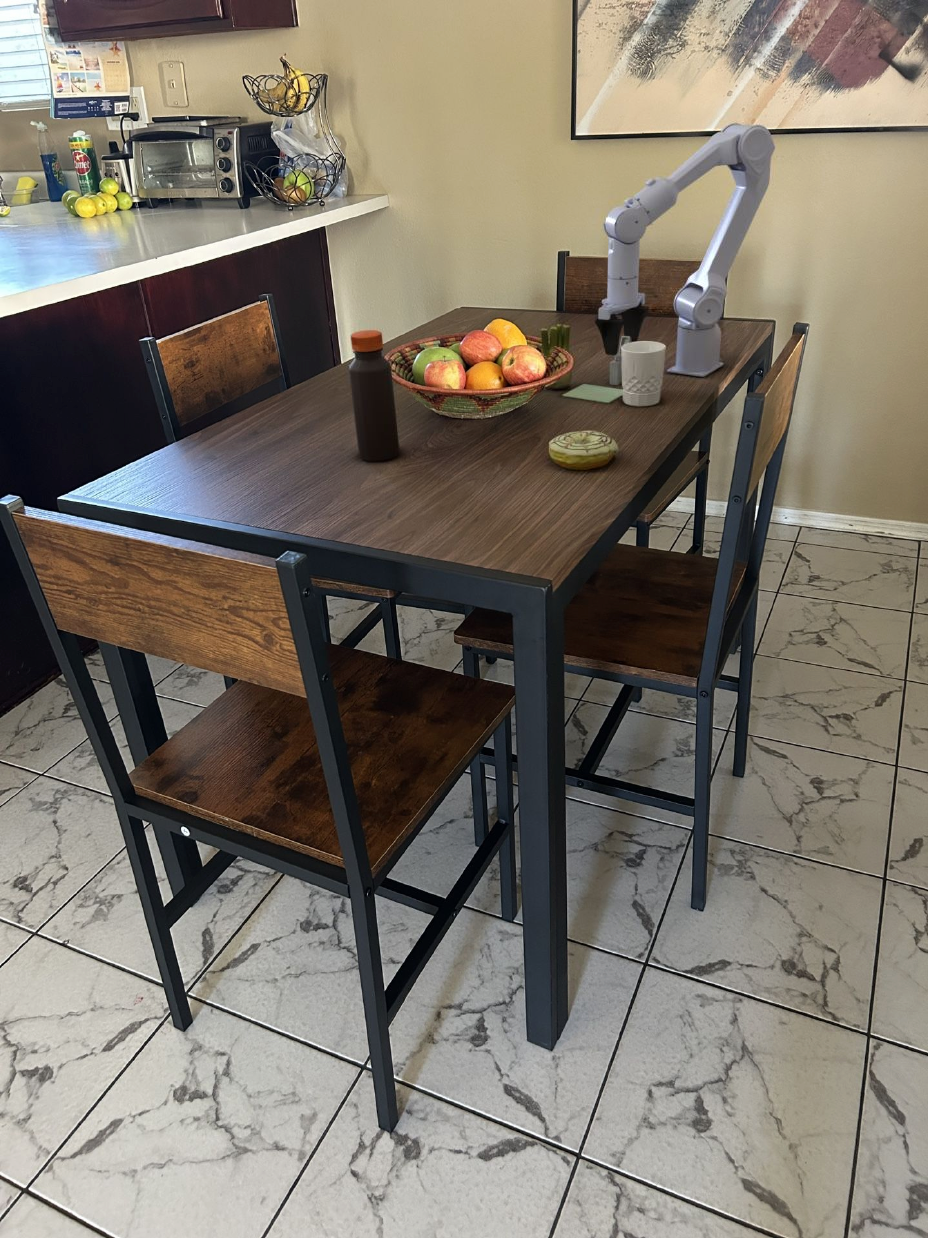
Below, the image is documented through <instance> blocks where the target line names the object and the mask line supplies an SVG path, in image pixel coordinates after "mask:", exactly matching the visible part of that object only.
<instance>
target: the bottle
mask: <svg viewBox="0 0 928 1238" xmlns="http://www.w3.org/2000/svg"><path fill="white" fill-rule="evenodd" d="M383 342H384V341H383V333H382V332H381V331H380V330H376V329H375V330H374V329H369V330H368V329H367V330H359V331H356V332H353V333H351V334H350V343H351V350H352V353H353V354H354V359H353V360H352V361H351V363H349V366H348V376H349V377H348V378H349V384H350V391H351V401H352V409H353V417H354V424H355V433H356V441H357V451H358V456H359V457H360V459H362V460H363V461H366V462H374V463H375V462H386V461H389V460H392V459H394V458H397V456H399V454H400V442H399V441H400V440H399V432H398V421H397V412H396V402H395V391H394V382H393V381H394V380H393V372H392V364H391V362H390V361H389V360H387V359H386V358H385V356H383V350H384V343H383Z"/></svg>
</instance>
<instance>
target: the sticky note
mask: <svg viewBox="0 0 928 1238" xmlns="http://www.w3.org/2000/svg"><path fill="white" fill-rule="evenodd" d="M561 396H562V397H566V398H572V399H579V400H587V401H590V402H591V401H592V402H598V403H603V404H604V403H605V404H610V403H612V402H613V401H616V400H617V399H619V398H620V397H623V388H622V389H621V388H615V387H609V386H602V385H595V384H588V383H583V384H581V385H579V386H577V387H575V388H573V389H571V390H569V391H567V392H565V393H563V394H562V395H561Z"/></svg>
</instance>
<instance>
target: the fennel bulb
mask: <svg viewBox="0 0 928 1238" xmlns="http://www.w3.org/2000/svg"><path fill="white" fill-rule="evenodd" d="M570 333H571V325H568V324H563V325H562V324H560V323H559V324H556V325H555V326H552V327H550V329H549V332H548V329H547V328H541V329H540V336H541V337H540V340H541V354H542V353H543V354H544V356H546V358H549V357H550V356H551V355H552V353H553V352H554V351H555V347H554V346H557V347H560V348H561V349H564V350H565V351H567V352H568V353H569V354H570V355H571V350H570ZM572 375H573V370H572V371H570V373H568V374H566V375H565V376H563V377H562V378H560V380H558V381H557V382H556V383H554V384H552V385H550V386H548V387H546V388H547V389H551V390H564V389H566V388H568V387H569V385H570V383H571V381H572Z"/></svg>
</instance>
